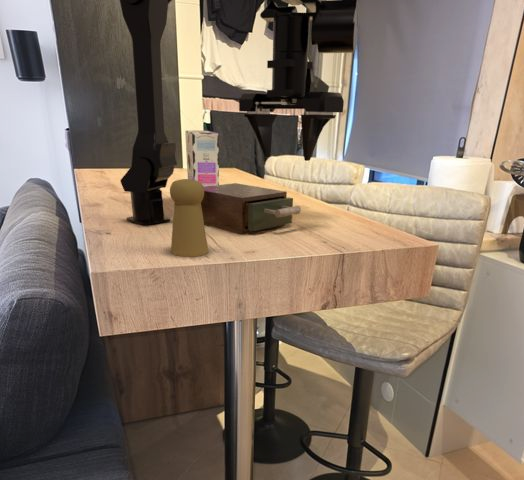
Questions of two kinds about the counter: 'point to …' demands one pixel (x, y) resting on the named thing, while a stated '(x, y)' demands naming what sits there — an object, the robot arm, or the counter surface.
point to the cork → (188, 219)
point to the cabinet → (232, 205)
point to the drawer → (269, 213)
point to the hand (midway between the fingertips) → (286, 158)
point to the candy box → (203, 156)
